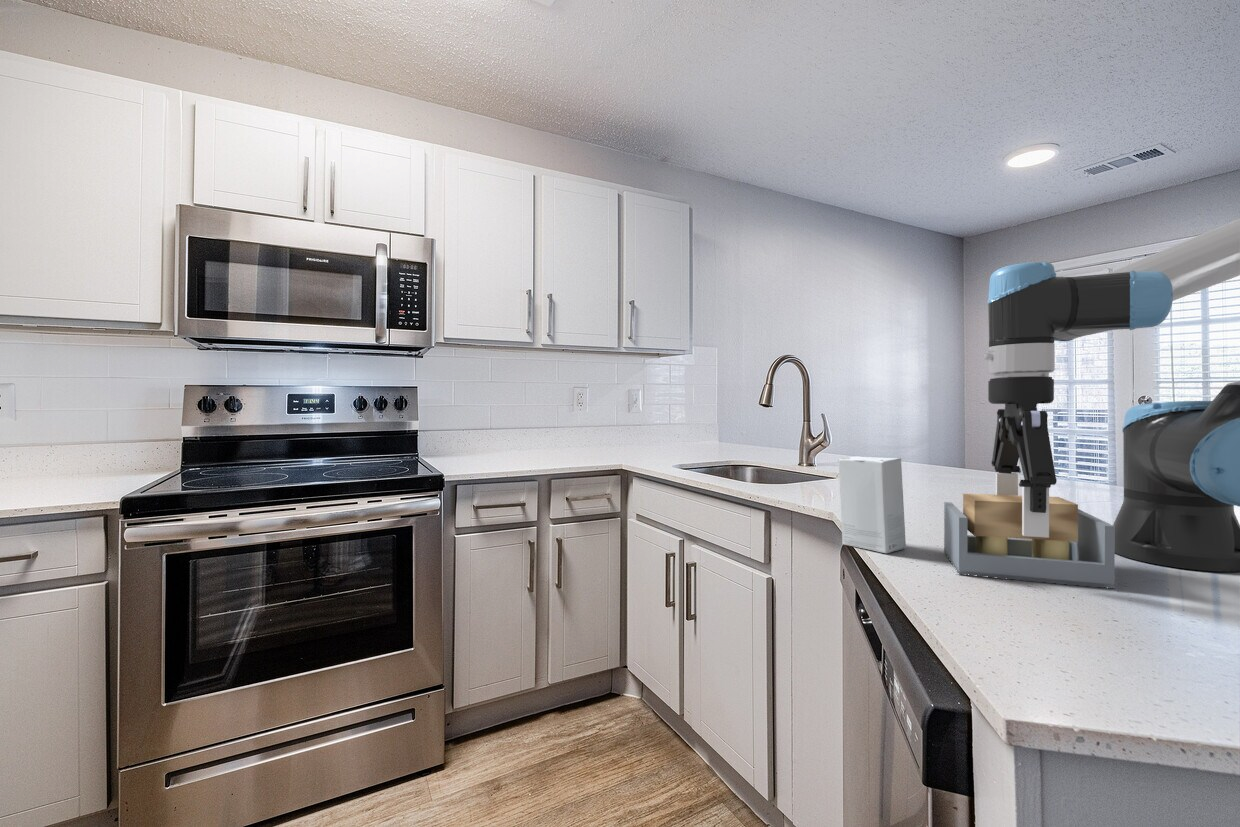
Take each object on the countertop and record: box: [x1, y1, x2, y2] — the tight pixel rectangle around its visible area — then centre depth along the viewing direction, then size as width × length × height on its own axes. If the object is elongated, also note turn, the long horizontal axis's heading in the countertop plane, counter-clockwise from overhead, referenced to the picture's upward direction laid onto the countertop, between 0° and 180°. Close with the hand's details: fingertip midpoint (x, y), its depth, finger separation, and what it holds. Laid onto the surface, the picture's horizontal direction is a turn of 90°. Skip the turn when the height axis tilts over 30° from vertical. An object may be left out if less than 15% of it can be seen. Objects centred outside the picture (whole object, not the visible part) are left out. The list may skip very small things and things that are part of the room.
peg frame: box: [943, 501, 1116, 589], centre depth 78 cm, size 17×12×8 cm
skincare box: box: [838, 455, 907, 554], centre depth 91 cm, size 8×6×15 cm
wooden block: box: [962, 493, 1079, 542], centre depth 78 cm, size 12×6×5 cm, turn 71°
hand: (1019, 525), depth 78 cm, fingers open, 13 cm apart
